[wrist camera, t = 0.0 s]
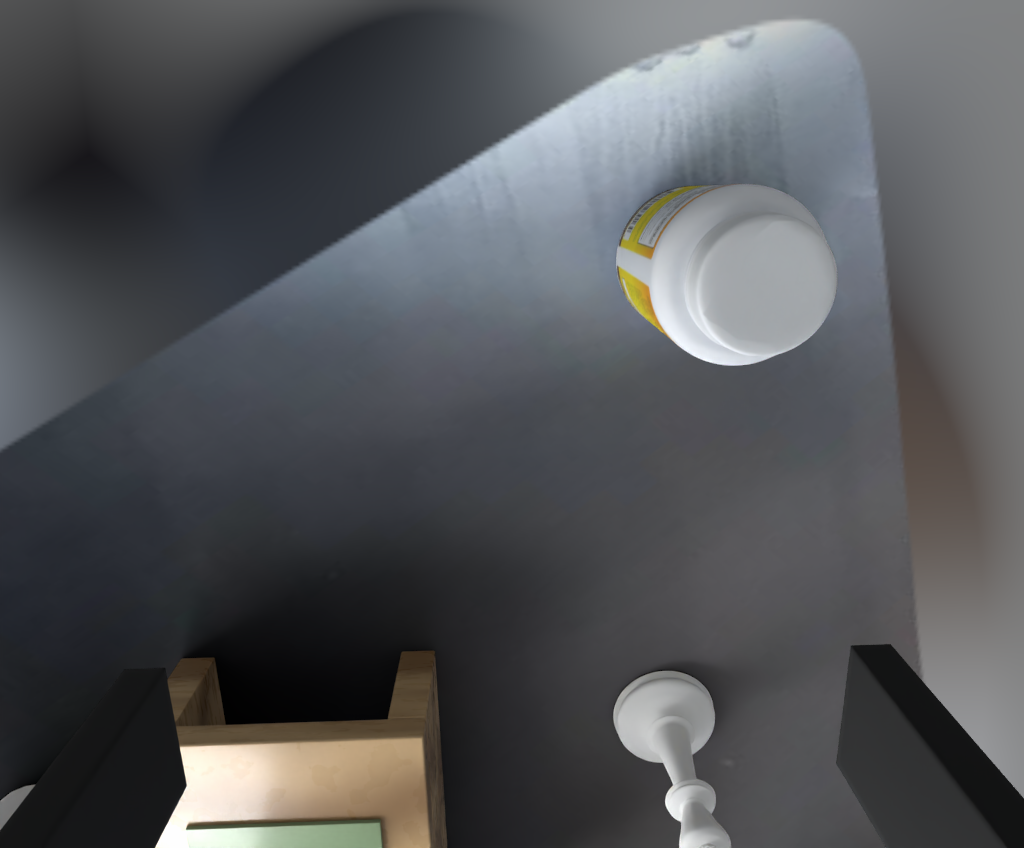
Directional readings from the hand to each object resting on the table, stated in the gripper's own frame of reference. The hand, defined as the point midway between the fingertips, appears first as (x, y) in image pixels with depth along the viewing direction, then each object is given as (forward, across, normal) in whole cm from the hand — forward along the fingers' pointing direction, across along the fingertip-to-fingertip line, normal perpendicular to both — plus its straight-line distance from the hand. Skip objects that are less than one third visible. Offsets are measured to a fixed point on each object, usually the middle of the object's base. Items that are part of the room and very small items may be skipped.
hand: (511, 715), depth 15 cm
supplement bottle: (+19, +7, +7) cm, 22 cm away
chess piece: (+19, +7, -15) cm, 25 cm away
